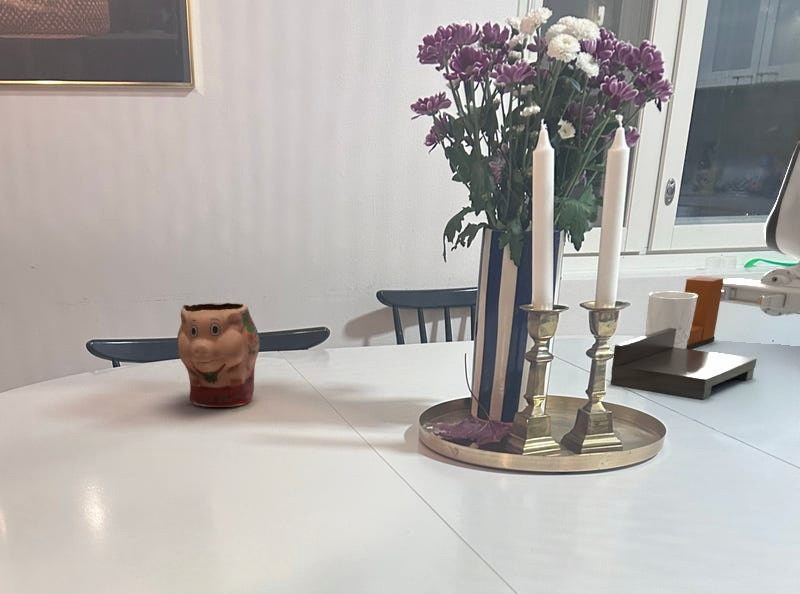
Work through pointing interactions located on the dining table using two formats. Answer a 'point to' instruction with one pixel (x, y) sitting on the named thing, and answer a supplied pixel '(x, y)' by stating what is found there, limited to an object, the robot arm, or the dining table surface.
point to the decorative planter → (218, 353)
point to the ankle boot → (704, 309)
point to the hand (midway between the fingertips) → (737, 299)
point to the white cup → (671, 314)
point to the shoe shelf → (674, 366)
